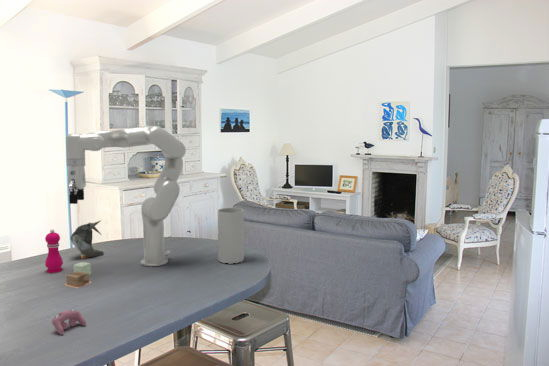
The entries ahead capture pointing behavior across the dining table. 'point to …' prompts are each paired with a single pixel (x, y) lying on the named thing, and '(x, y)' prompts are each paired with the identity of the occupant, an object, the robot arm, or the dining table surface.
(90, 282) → the cream wavy board
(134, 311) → the dining table surface
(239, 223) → the cylinder vase
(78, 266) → the sage block
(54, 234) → the pepper mill
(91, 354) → the dining table surface
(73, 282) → the walnut base block
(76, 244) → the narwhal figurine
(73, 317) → the video game controller
